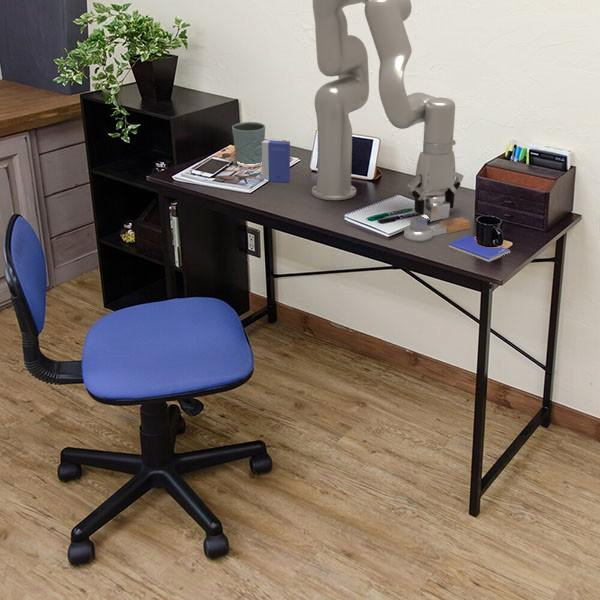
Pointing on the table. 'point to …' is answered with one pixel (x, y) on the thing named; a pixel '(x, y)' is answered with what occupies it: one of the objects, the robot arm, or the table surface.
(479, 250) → the blue flat block
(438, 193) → the frosted rounded block
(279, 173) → the walkman
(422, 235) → the ratchet
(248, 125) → the green tapered cup
